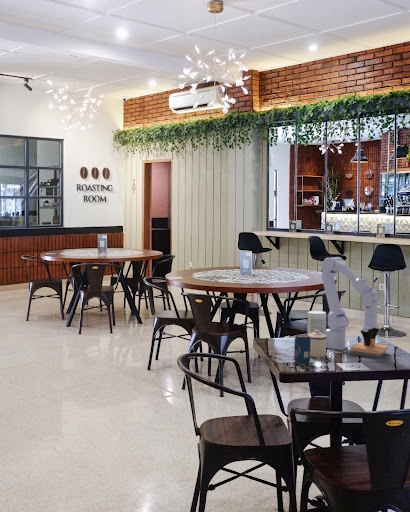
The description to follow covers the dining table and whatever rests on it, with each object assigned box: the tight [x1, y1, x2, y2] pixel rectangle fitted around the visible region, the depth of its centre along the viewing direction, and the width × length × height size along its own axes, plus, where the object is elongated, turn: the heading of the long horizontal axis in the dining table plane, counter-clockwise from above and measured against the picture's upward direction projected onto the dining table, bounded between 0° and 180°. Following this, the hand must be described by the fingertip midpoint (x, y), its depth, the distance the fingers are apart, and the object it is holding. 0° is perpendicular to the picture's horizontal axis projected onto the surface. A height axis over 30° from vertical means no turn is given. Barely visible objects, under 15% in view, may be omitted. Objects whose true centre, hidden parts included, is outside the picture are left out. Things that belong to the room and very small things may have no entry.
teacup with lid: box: [308, 330, 327, 358], centre depth 295 cm, size 12×9×12 cm
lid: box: [350, 338, 389, 354], centre depth 298 cm, size 14×14×5 cm
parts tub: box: [352, 350, 387, 359], centre depth 299 cm, size 12×12×3 cm
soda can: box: [293, 334, 311, 365], centre depth 280 cm, size 7×7×12 cm
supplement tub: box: [306, 310, 327, 335], centre depth 327 cm, size 10×10×15 cm
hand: (369, 344), depth 298 cm, fingers open, 6 cm apart
